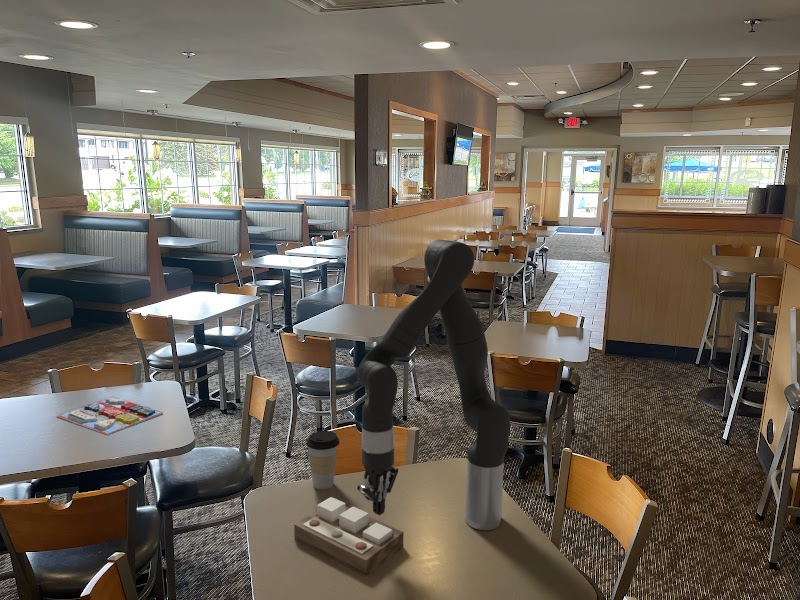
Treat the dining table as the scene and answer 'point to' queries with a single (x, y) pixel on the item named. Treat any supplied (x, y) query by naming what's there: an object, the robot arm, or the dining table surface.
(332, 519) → the button
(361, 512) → the button
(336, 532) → the button panel
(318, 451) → the coffee cup
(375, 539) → the button
